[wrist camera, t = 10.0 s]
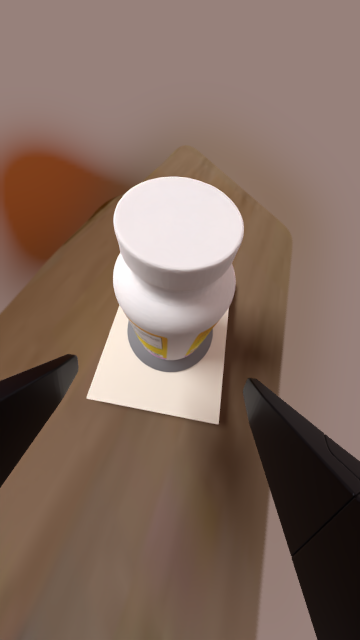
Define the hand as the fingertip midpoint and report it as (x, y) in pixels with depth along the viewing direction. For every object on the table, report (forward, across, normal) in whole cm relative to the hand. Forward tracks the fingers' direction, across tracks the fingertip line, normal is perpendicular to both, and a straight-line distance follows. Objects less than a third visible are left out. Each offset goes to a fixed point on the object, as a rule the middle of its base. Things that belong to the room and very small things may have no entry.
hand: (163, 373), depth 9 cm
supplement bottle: (+9, 0, +2) cm, 9 cm away
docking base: (+10, 0, +3) cm, 10 cm away
